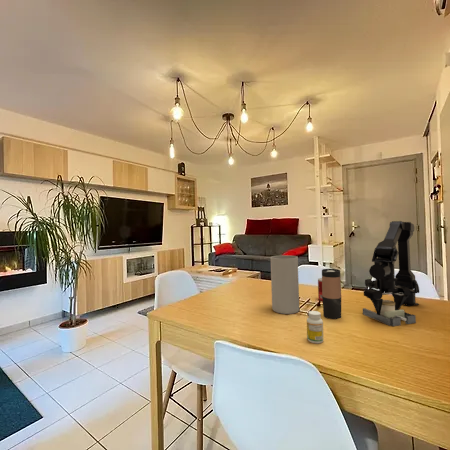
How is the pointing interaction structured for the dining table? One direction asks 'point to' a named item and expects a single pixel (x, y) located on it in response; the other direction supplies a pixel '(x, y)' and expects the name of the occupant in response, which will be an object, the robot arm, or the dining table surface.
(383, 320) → the grey u-shaped frame
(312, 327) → the supplement bottle
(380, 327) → the dining table surface
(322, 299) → the canned food
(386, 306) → the jar
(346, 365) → the dining table surface
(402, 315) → the pusher
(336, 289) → the travel mug
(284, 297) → the cylinder vase
